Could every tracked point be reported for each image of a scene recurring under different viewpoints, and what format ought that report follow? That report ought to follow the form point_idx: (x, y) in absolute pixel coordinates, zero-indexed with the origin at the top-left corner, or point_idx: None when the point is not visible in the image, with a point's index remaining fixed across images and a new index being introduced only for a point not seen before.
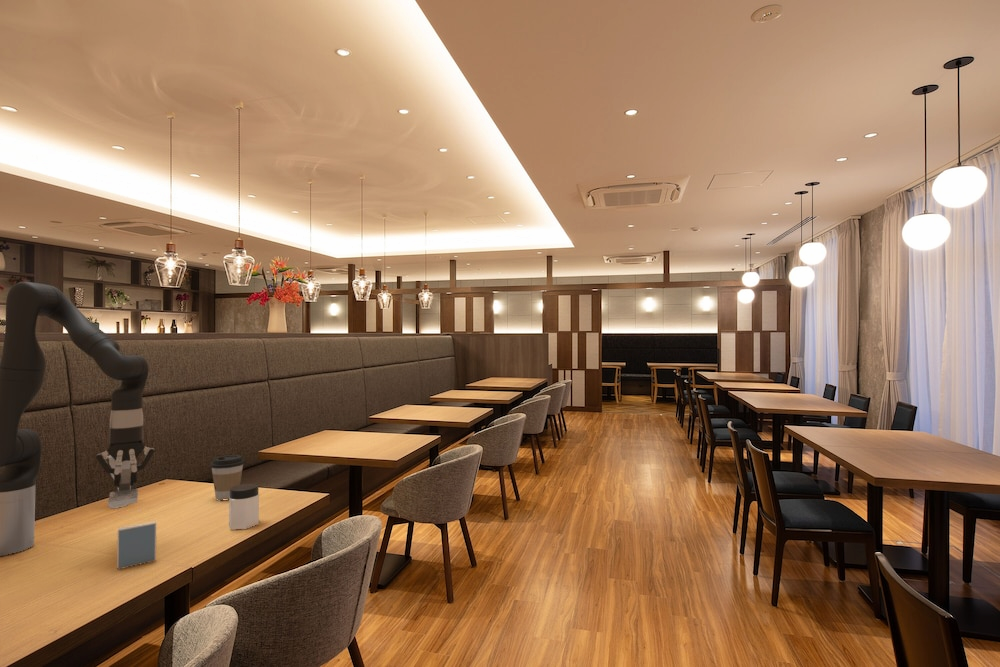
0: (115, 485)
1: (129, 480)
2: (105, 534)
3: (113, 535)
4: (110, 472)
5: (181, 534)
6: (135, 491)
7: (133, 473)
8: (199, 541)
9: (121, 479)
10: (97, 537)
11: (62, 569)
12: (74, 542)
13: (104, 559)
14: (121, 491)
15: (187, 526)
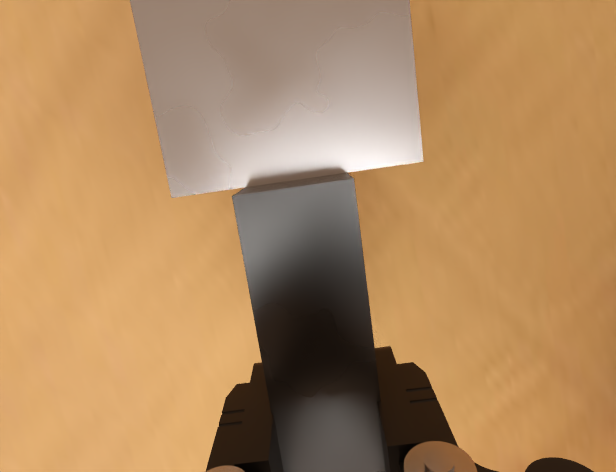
0: (410, 366)
1: (261, 304)
2: None
3: None
4: (529, 466)
5: (121, 262)
6: (171, 87)
7: (238, 457)
8: (17, 129)
9: (362, 378)
10: (433, 381)
11: (499, 60)
12: (502, 363)
13: None
14: (317, 145)
15: (122, 351)
